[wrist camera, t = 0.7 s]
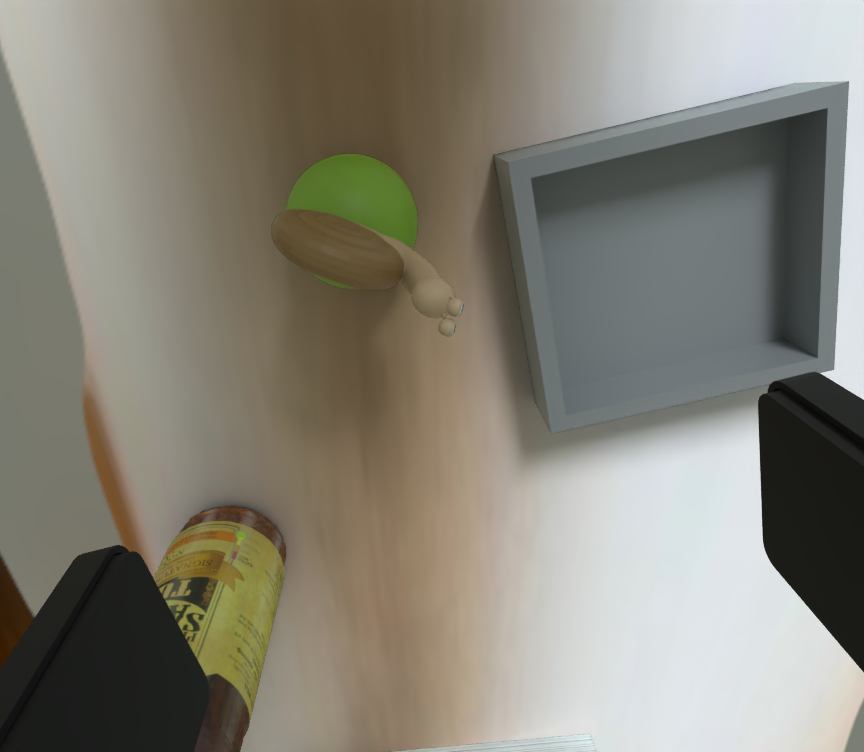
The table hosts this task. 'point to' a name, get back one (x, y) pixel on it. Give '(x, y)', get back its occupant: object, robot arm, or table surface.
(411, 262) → the snail figurine
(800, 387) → the robot arm
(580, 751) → the picture frame
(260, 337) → the table surface
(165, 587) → the sauce bottle
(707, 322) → the bin
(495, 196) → the table surface
